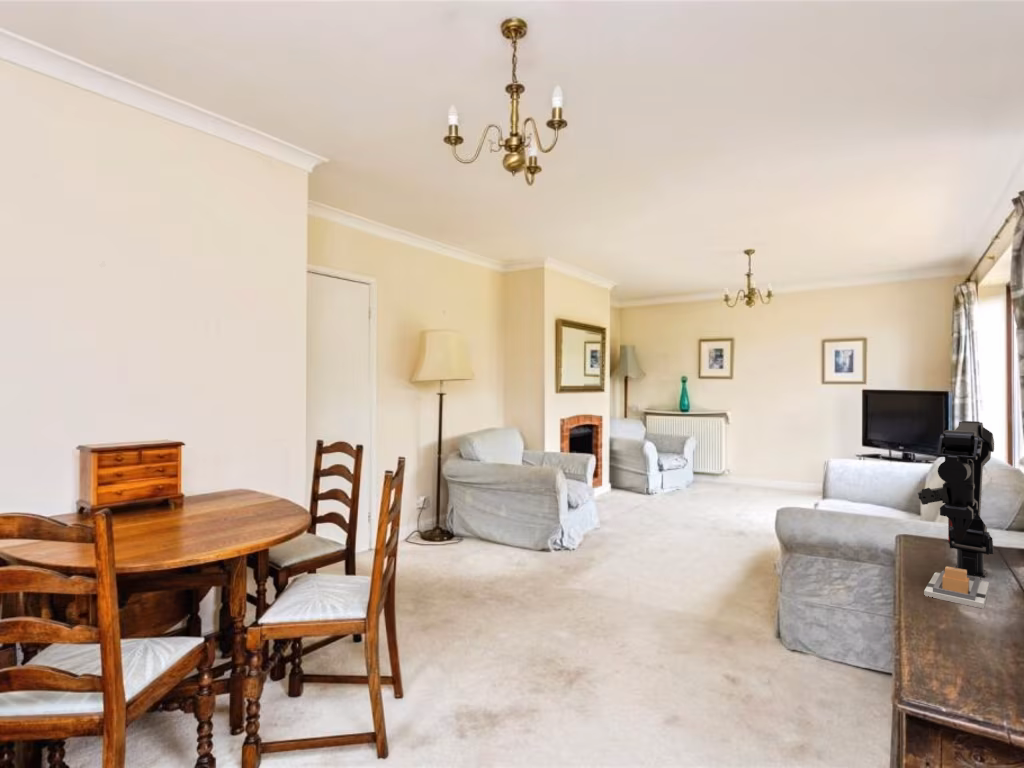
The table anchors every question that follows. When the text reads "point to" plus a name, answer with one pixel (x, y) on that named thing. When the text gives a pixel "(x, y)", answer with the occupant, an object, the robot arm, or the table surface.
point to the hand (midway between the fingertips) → (959, 540)
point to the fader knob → (956, 580)
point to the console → (973, 598)
